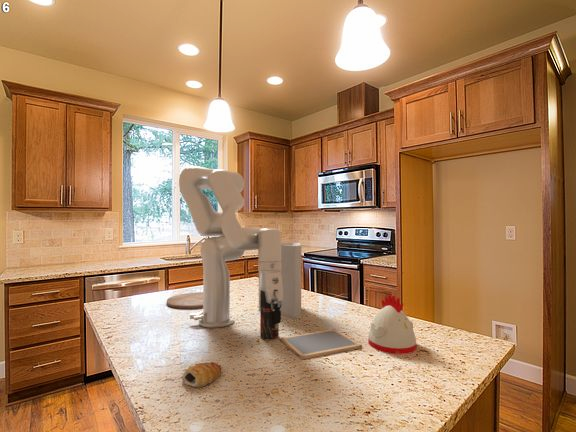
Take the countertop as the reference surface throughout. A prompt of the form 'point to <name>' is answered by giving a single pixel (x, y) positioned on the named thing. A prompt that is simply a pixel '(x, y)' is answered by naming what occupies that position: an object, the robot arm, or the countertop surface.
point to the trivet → (186, 301)
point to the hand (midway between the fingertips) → (270, 319)
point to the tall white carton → (290, 280)
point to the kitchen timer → (392, 329)
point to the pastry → (201, 374)
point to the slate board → (319, 343)
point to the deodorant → (267, 320)
